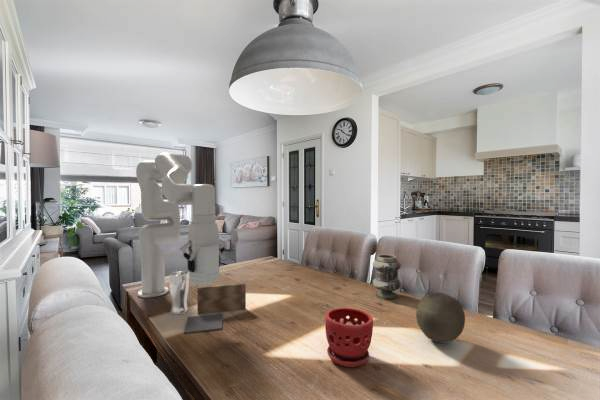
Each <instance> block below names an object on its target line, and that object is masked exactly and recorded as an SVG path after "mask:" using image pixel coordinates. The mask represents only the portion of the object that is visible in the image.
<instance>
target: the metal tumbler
mask: <svg viewBox="0 0 600 400" xmlns="http://www.w3.org/2000/svg"><path fill="white" fill-rule="evenodd" d="M168 286H169V287H168V288H169V293H170V299H171V308H170V314H171V315H175V316H178V315H183V314H186V313H187V312H188V310H189V308H188V303H187V300H188V294H189V287H190V275H189V271H187V270H177V271H172V272H170V273H169V285H168Z"/></svg>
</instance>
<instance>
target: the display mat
mask: <svg viewBox="0 0 600 400" xmlns="http://www.w3.org/2000/svg"><path fill="white" fill-rule="evenodd" d="M220 330H223V313H222V312H220V313H213V314H212V313H211V314H205V315H204V314H203V315H193V316H188V317H187V321H186V324H185V328H184V333H183V334H184V335H185V334H192V333H201V332H209V331H210V332H211V331H220Z"/></svg>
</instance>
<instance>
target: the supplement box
mask: <svg viewBox="0 0 600 400" xmlns="http://www.w3.org/2000/svg"><path fill="white" fill-rule="evenodd" d="M219 248H220V245H214V246H206V247H200V248H199V253H198V254H196V255H195V257H194V258H193V260H194V261H195V272H190V271H189V270H188V276H189V284H190V283H191V284H196V285H201V286H208V285H210V284H212V283H215V282H217V281H220V267H219ZM189 250H190V251H191V250H192V248H191V247H189ZM190 251H188V253H189V252H190Z"/></svg>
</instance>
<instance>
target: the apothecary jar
mask: <svg viewBox="0 0 600 400" xmlns="http://www.w3.org/2000/svg"><path fill="white" fill-rule="evenodd" d="M372 266H373V267H374V268H375V278H374V279H372V284H373V286H374V287H375V288H376V289H377V290H378V291H376V292H375V294H374V295H375V297H377V298H378V299H381V300H388V301H390V300H391V301H392V300H396V299H398V298H399V294H397V293H396V292H394V291H398V290H400V288H401V286H402V284H401V281H400V280H399V275H398V272H399V270H400V269H401V266H402V265H401V263H400V262H399V260H398V258H397V256H396V255H394V254H378V255H376V259H375V260H374V261H373V263H372Z"/></svg>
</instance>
